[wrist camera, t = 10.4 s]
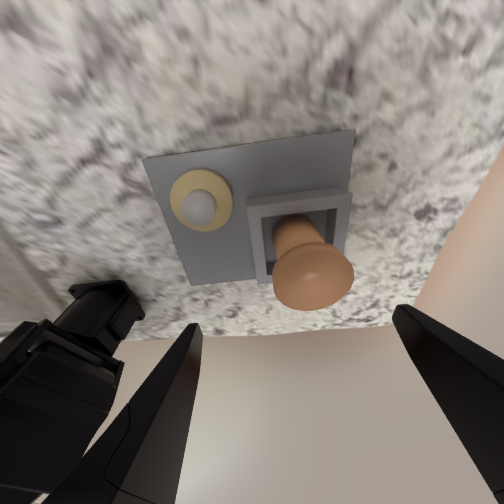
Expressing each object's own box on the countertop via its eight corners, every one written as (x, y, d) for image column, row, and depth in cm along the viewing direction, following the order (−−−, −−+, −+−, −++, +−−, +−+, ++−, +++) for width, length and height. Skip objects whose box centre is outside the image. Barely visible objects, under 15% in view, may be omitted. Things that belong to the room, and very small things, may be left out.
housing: (193, 279, 23) (183, 306, 20) (147, 158, 16) (120, 167, 13) (333, 264, 22) (348, 289, 19) (349, 129, 15) (378, 131, 12)
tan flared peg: (267, 259, 21) (275, 313, 15) (263, 211, 18) (270, 255, 12) (319, 253, 20) (348, 307, 14) (322, 203, 17) (360, 245, 12)
